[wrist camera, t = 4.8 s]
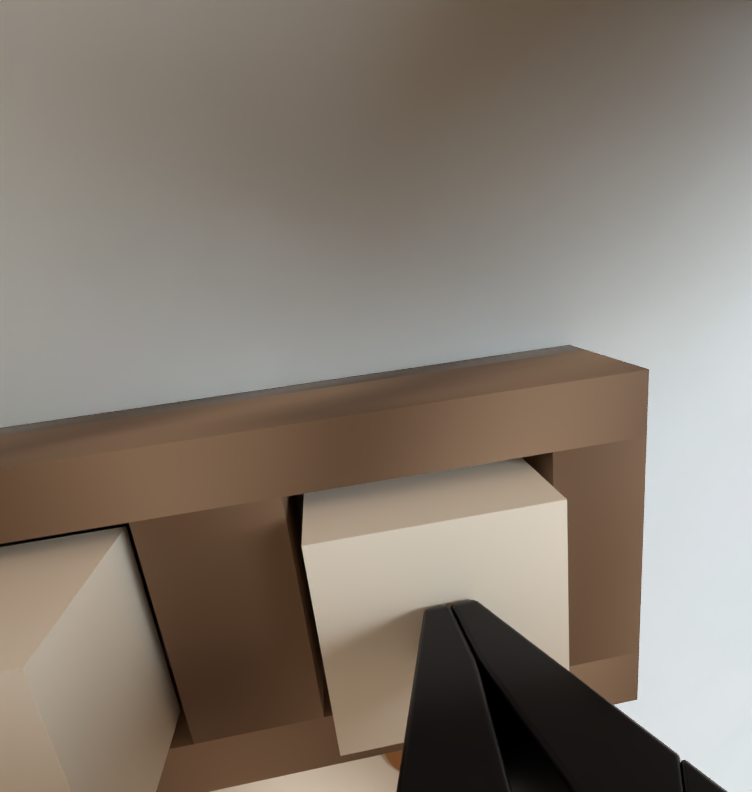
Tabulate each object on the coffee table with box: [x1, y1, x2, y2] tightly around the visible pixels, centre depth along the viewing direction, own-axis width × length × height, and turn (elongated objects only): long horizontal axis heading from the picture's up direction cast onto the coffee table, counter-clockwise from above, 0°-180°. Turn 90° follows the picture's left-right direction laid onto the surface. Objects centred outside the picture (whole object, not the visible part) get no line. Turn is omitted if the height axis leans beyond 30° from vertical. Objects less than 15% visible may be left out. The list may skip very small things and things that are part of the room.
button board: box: [0, 345, 649, 792], centre depth 10 cm, size 22×11×3 cm, turn 97°
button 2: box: [301, 458, 569, 756], centre depth 9 cm, size 4×4×3 cm
